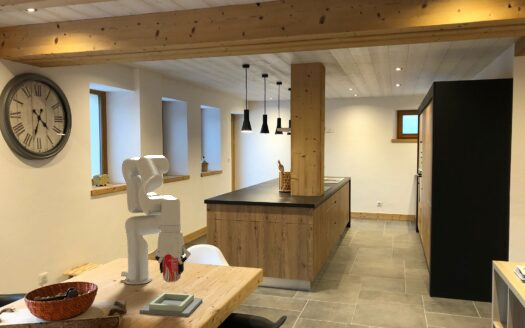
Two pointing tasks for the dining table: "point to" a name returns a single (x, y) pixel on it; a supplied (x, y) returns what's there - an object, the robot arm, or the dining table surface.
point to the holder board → (172, 304)
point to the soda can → (170, 268)
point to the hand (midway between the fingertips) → (171, 272)
